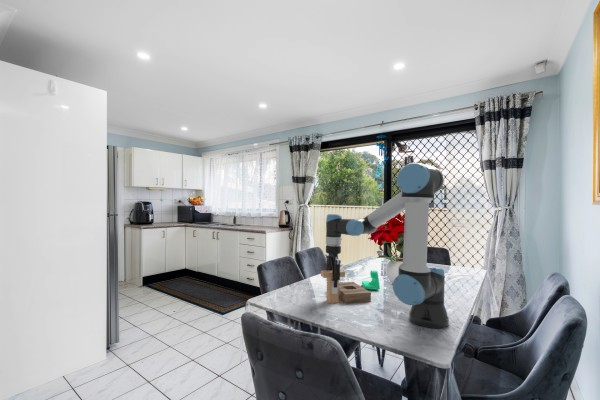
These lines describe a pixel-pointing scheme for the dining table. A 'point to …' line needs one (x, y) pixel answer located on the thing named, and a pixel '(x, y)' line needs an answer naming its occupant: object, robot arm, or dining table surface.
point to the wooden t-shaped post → (328, 274)
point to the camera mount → (374, 283)
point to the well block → (353, 293)
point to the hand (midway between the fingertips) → (332, 291)
